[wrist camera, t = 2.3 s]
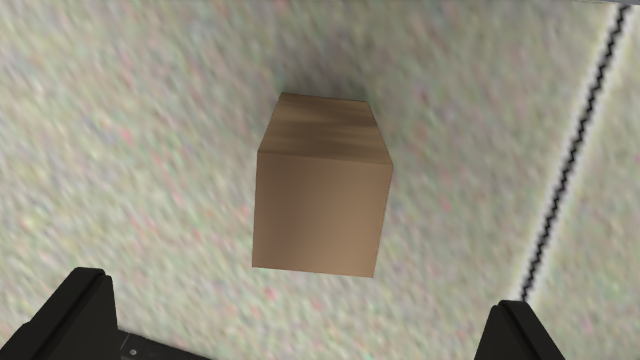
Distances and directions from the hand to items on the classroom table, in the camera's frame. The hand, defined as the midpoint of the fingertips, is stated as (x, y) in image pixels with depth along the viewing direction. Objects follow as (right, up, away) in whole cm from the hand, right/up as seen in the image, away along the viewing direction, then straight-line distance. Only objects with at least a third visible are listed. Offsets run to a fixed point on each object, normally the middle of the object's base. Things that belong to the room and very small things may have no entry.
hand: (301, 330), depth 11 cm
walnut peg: (0, +6, +15) cm, 17 cm away
